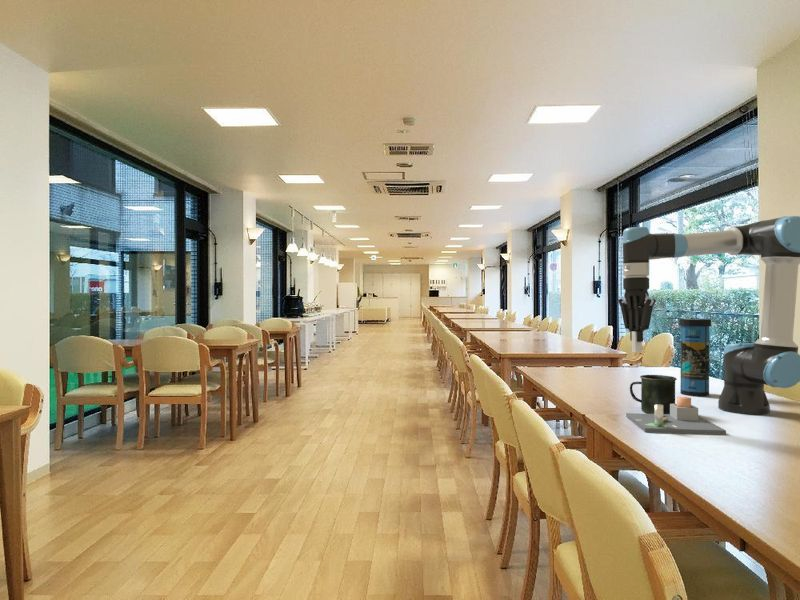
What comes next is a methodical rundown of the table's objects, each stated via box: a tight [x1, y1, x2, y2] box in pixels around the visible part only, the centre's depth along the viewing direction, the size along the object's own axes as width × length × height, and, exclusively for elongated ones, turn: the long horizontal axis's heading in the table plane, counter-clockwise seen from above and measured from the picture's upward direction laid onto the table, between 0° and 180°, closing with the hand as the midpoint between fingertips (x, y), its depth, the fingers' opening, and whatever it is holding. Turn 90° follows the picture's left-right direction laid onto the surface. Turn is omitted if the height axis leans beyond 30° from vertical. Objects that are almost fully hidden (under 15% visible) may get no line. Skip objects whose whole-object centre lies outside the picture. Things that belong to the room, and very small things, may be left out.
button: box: [676, 396, 692, 408], centre depth 172 cm, size 4×4×5 cm
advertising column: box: [678, 317, 712, 398], centre depth 219 cm, size 11×11×30 cm
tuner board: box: [625, 403, 727, 436], centre depth 168 cm, size 22×20×5 cm
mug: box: [629, 374, 677, 414], centre depth 187 cm, size 11×15×12 cm
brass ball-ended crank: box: [654, 404, 668, 426], centre depth 165 cm, size 11×3×6 cm, turn 148°
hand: (636, 352), depth 172 cm, fingers closed
